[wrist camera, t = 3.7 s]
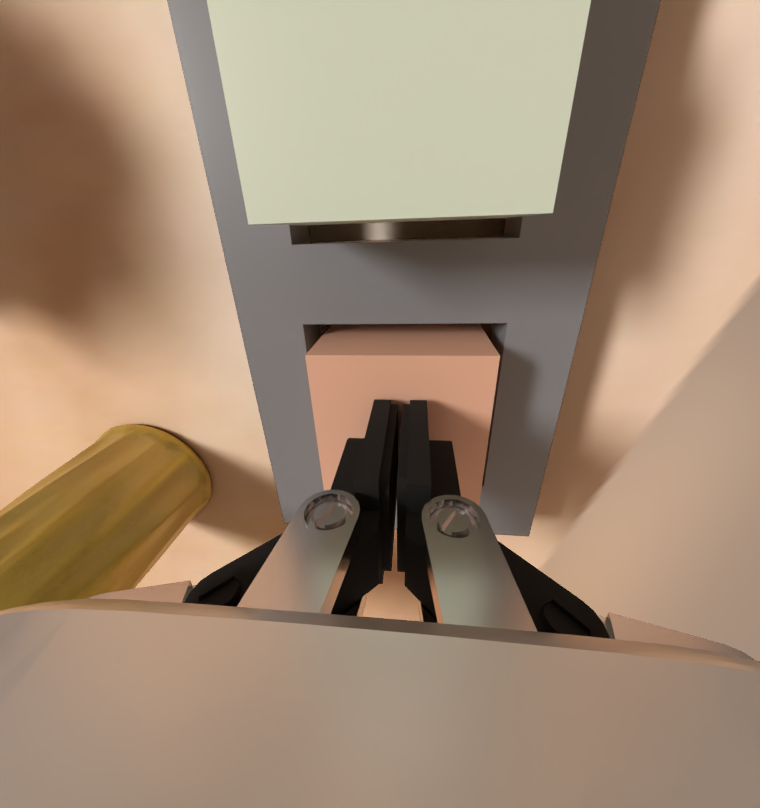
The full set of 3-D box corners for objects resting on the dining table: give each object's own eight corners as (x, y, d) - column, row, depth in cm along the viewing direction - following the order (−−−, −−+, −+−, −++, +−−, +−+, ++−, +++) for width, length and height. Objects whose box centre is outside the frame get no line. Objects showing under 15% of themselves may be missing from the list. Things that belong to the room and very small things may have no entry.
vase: (221, 449, 17) (-381, 1132, 4) (206, 528, 20) (-177, 1074, 7) (98, 404, 16) (-1036, 1032, 4) (100, 492, 19) (-523, 1014, 6)
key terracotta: (332, 324, 13) (305, 355, 10) (479, 323, 13) (500, 355, 9) (343, 443, 16) (324, 498, 13) (466, 447, 15) (478, 505, 12)
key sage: (267, -77, 7) (146, -324, 4) (546, -114, 6) (669, -435, 3) (303, 225, 10) (248, 224, 6) (505, 218, 9) (552, 212, 6)
